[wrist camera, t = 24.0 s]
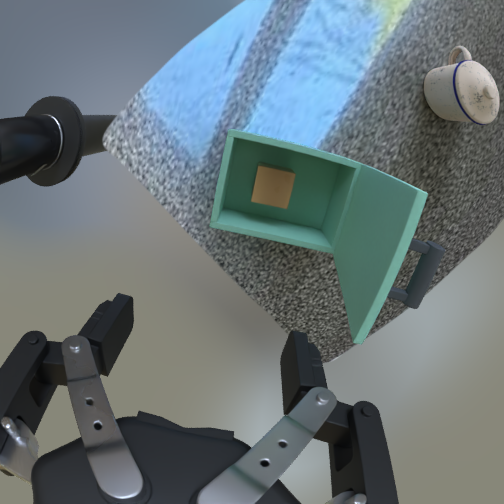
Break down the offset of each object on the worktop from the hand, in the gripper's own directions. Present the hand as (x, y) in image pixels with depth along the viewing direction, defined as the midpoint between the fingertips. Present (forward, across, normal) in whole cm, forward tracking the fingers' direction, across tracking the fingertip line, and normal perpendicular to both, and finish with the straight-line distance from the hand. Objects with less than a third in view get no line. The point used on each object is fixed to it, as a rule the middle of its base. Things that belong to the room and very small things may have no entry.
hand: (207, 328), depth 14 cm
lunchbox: (+28, -5, -3) cm, 29 cm away
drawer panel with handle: (+12, -11, -3) cm, 17 cm away
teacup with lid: (+28, -26, -26) cm, 46 cm away
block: (+27, -4, -3) cm, 28 cm away
